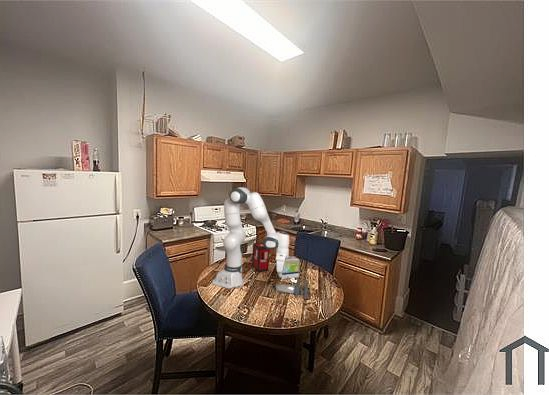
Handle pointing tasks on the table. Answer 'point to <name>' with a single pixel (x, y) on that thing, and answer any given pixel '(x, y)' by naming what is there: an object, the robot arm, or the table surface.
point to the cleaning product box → (260, 257)
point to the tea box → (291, 268)
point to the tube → (287, 288)
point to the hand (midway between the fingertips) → (281, 273)
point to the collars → (305, 288)
